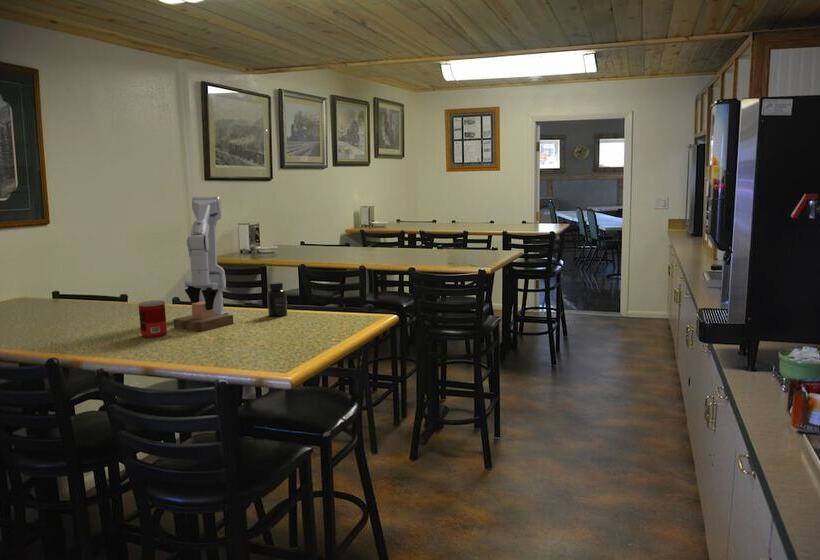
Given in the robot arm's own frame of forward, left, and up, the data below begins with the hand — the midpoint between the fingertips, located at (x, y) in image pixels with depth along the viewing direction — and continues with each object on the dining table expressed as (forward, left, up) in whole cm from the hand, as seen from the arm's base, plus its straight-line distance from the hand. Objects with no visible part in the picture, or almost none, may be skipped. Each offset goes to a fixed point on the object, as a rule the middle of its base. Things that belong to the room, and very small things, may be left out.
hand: (202, 308), depth 232 cm
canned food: (-3, -18, -6) cm, 19 cm away
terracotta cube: (0, 0, -3) cm, 3 cm away
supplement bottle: (+11, +25, -6) cm, 28 cm away
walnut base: (0, 0, -6) cm, 6 cm away
